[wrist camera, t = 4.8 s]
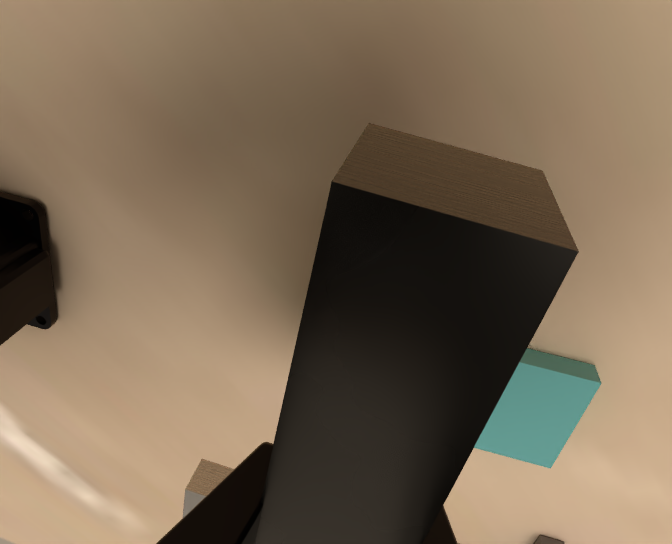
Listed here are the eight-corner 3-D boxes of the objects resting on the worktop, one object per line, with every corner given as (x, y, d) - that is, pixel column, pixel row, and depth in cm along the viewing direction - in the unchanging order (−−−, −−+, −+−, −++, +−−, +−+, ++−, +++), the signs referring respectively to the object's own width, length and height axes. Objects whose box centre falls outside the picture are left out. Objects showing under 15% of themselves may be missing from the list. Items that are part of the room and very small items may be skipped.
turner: (244, 89, 7) (157, 131, 5) (678, 208, 7) (776, 307, 5) (188, 577, 14) (141, 680, 12) (402, 651, 13) (392, 771, 11)
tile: (436, 412, 24) (435, 437, 22) (469, 327, 21) (470, 349, 20) (545, 441, 23) (550, 468, 22) (592, 358, 21) (601, 383, 19)
